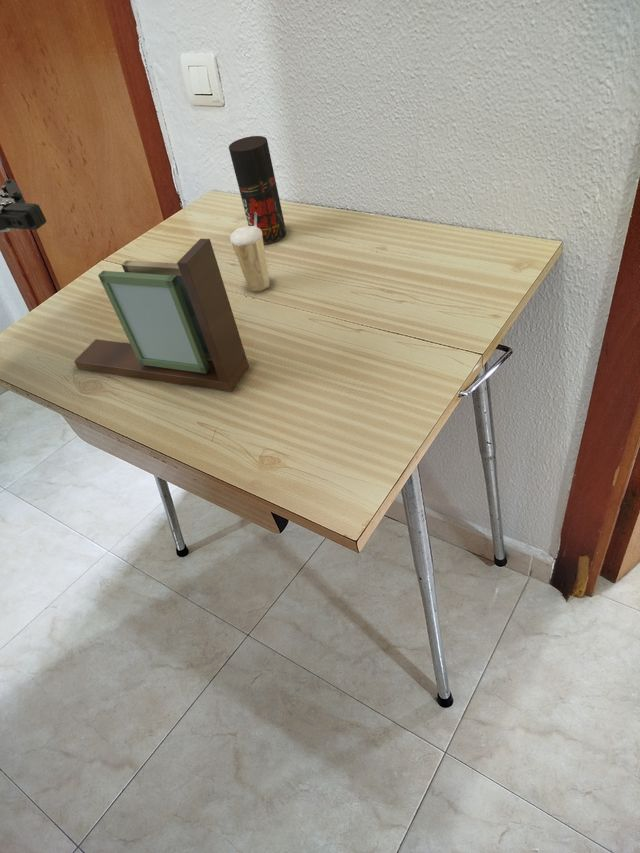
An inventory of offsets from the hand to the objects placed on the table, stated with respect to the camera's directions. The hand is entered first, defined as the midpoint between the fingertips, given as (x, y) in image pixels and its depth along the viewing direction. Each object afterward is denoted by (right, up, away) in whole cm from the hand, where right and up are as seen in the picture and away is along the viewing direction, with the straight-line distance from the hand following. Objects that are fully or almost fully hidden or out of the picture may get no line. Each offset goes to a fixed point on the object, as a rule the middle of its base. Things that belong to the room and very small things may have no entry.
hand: (38, 216), depth 62 cm
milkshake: (+21, -1, +26) cm, 33 cm away
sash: (+12, -15, +12) cm, 22 cm away
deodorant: (+21, +10, +37) cm, 44 cm away
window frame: (+9, -15, +15) cm, 23 cm away
